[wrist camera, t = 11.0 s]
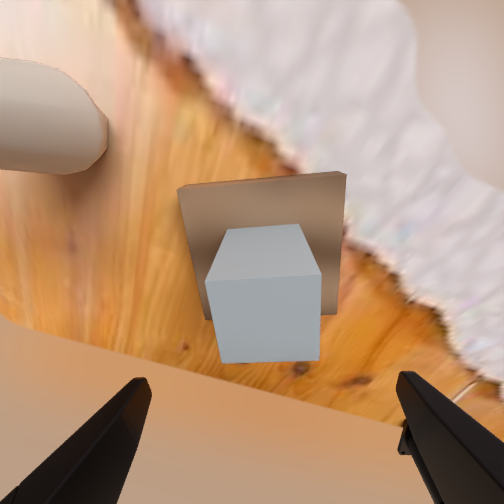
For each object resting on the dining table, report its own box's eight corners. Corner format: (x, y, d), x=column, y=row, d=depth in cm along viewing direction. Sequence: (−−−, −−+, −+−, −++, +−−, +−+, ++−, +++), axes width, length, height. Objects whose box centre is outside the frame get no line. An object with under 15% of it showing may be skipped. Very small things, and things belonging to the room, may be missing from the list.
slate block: (299, 285, 18) (319, 360, 12) (236, 288, 19) (221, 363, 12) (298, 223, 16) (321, 274, 10) (227, 229, 17) (204, 281, 10)
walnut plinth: (330, 299, 21) (336, 314, 19) (210, 305, 22) (205, 320, 20) (337, 171, 17) (346, 174, 15) (185, 184, 17) (176, 189, 16)
